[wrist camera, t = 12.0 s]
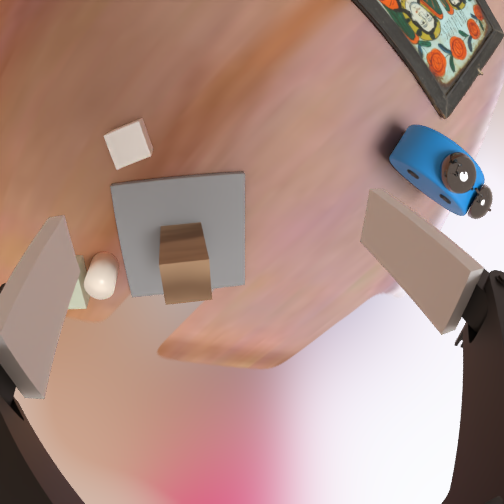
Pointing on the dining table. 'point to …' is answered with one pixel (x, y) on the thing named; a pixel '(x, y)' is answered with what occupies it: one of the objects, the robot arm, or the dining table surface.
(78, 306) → the sage block
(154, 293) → the grey mat
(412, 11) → the painting
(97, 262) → the cream cylinder
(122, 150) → the white cube
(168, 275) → the walnut block
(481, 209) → the alarm clock
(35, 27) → the dining table surface
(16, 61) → the dining table surface
